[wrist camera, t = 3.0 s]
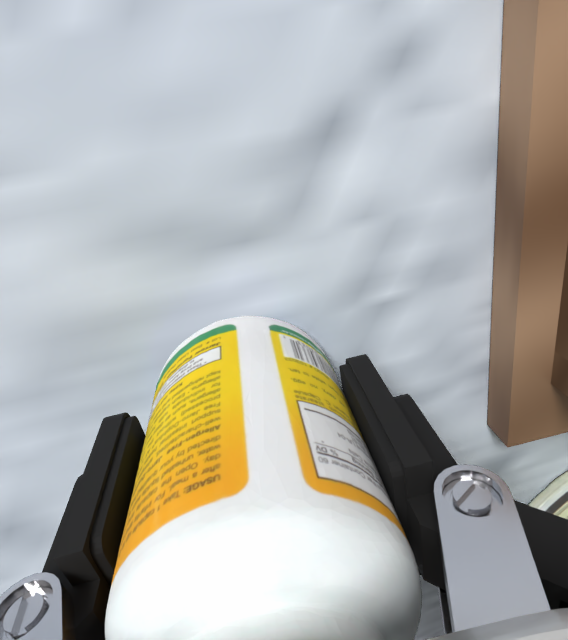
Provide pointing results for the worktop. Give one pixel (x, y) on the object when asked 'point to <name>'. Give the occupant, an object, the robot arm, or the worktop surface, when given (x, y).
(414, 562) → the supplement bottle
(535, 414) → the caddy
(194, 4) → the worktop surface
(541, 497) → the coffee can
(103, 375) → the worktop surface
